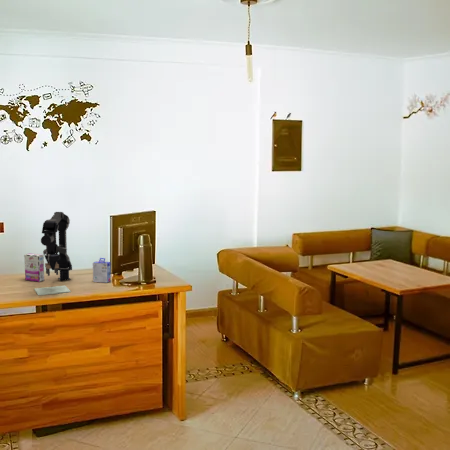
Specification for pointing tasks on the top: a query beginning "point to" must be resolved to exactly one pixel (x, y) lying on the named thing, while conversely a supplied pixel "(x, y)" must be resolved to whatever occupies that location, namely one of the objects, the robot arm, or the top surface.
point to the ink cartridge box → (102, 271)
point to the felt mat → (52, 290)
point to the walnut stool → (50, 268)
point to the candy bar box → (34, 267)
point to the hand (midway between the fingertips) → (52, 269)
